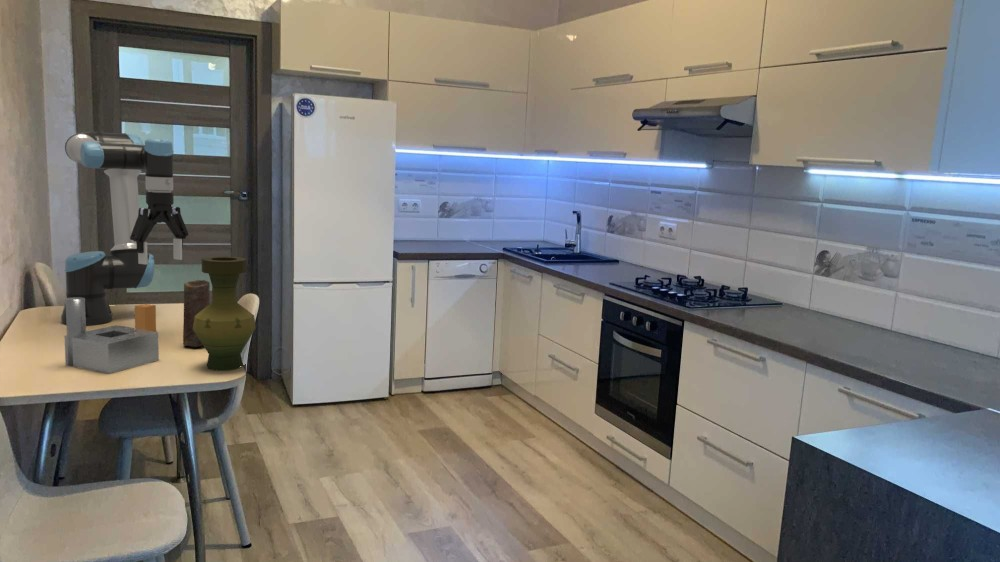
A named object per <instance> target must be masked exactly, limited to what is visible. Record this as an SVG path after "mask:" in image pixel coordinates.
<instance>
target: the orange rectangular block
mask: <svg viewBox="0 0 1000 562" xmlns="http://www.w3.org/2000/svg"><path fill="white" fill-rule="evenodd" d="M156 309H157V308H156V305H155V304H151V303H150V304H149V303H143V304H137V305H134V327H135V329H141V330H147V331H153V332H157V317H156V316H157V314H156V313H157V312H156Z"/></svg>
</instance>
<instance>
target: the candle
mask: <svg viewBox="0 0 1000 562" xmlns="http://www.w3.org/2000/svg"><path fill="white" fill-rule="evenodd" d="M210 283H211V282H210V281H207V280H204V279H194V280H190V281H187V282H184V283H183V325H182V327H183V329H182V331H183V332H182V343H183V346H187V347H190V348H199V347H201V346H203V344H202V343H201V341H200V340H199V338H198V336H197V335H196V333H195V332H194V330H193V322H194V316H195V315H196V314H198V313H199V312H200V311H202V310H203V309H204V308H205V307H207V306H208V305H209V304H210V288H211V287H210V286H211V285H210Z"/></svg>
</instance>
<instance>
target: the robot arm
mask: <svg viewBox="0 0 1000 562" xmlns="http://www.w3.org/2000/svg"><path fill="white" fill-rule="evenodd" d="M64 151H65V154H66V156H67V157H68V158H69V159H70V160H71V161H73V162H75V163H77V164H81V165H82V166H83V167H85V168H89V169H90V168H91V169H103V172H104V174H105V175H106V176H108V178H109V187H110V188H109V189H110V200H111V214H112V227H113V240H114V246H113V247H112V248H111V249H110V252H109V253H110V255H109V254H108V255H106V253H105V251H102V250H97V251H95V250H94V251H85V252H78V253H74V254H70V255H69V256H67V258H66V259H65V262H64V263H65V265H64V266H65V267H64V272H65V290H66V291H65V292H66V296H65V297H66V299H67V298H73V297H82V298H85V318H86V326H95V325H103V324H107V323H110V322H112V321H113V317H114V316H113V312H112V310H111V307H110V305H109V302H108V299H107V291H108V290H121V289H124V290H125V289H137V288H146V287H148V286H150V284H152V282H153V278H154V274H155V257H154V255H153V254H151V253H149V252H148V250H149V249H148V241H146V240H147V238H148V237H149V235H150V233H151V232H152V230H153V228H154V227H155V226H156V225H158V224H159V223H160V224H162V223H165V224H166V226H167V227H168V229H169V230H170V231H171V233H172V234H173V236H174V238H172V243H173V244H172V246H173V247H172V250H173V256H172V257H173V260H177V261H178V260H179V261H182V260H183V248H184V240H185V239H186V238H187V237H188V236H189V231H188V229H187V227H186V224H185V222H184V219H183V217H182V214H181V208H180V206H172V205H174V200H175V199H174V193H173V192H172V191H174V147H173V142H172V141H171V140H170V139H161V138H146V139H145V140H144V142H143V140H142V139H141V137H140V136H138V135H137V134H132V133H131V134H129V133H126V132H124V133H123V132H109V131H108V132H105V131H104V132H103V131H82V132H78V133H75V134H73V135H71V136H70V137H68V138H67V139H66V141H65V144H64ZM142 171H145V175H144V176H145V190H146V192H145V203H146V205H148V206H147V207H140V196H139V184H138V177H139V176H140V174H141V173H142ZM60 322H61V323H62V324H64V325H67V321H66V302H65V304H64V307H63V310H62V313H61V316H60Z"/></svg>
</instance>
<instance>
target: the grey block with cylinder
mask: <svg viewBox="0 0 1000 562" xmlns="http://www.w3.org/2000/svg"><path fill="white" fill-rule="evenodd" d="M65 303H66V321H67V324H66V335H63V337H64V354H65V357H64V359H65V366H69V367H74V368H78V367H79V368H80V369H83V368H84V370H89V371H93V372H97V373H98V372H100V373H102V374H103V373H104V374H108V375H109V374H113V373H118V372H120V371H124V370H129V369H131V368H136V367H138V366H143V365H146V364H149V363H153V362H157V361H159V360H160V356H159V354H160V353H159V332H158V331H156V332H153V331H147V330H141V329H135V328H133V327H129V326H123V325H119V324H117V325H112V326H107V327H102V328H97V329H92V330H87V325H86V318H85V298H82V297H73V298H67V297H66V298H65Z"/></svg>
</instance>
